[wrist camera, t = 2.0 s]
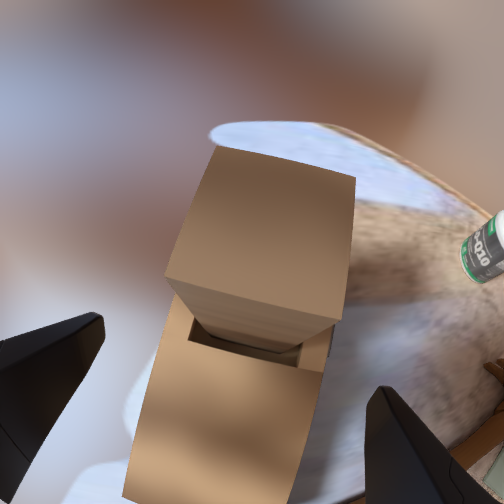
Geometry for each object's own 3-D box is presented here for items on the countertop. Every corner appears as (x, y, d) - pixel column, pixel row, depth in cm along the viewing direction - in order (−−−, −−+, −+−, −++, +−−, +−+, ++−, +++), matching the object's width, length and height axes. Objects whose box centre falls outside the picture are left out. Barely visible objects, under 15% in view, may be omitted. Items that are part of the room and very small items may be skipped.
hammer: (227, 580, 10) (522, 442, 14) (225, 599, 7) (542, 441, 11) (188, 468, 15) (506, 345, 19) (178, 480, 13) (528, 337, 16)
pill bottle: (456, 234, 23) (508, 186, 15) (487, 247, 23) (538, 206, 15) (458, 279, 21) (521, 238, 14) (490, 289, 21) (550, 255, 13)
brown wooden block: (279, 354, 18) (341, 319, 7) (210, 337, 18) (163, 276, 7) (294, 288, 20) (355, 177, 9) (229, 273, 20) (216, 145, 9)
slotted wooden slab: (273, 511, 14) (280, 537, 10) (142, 478, 14) (121, 496, 11) (331, 278, 21) (348, 257, 17) (206, 248, 22) (200, 222, 18)
